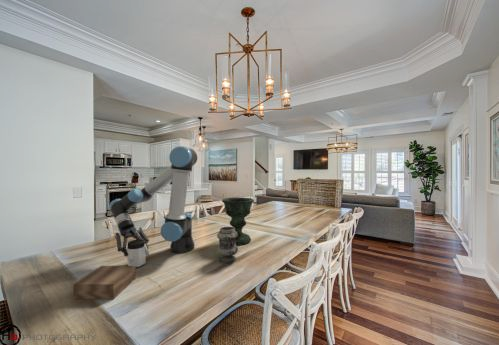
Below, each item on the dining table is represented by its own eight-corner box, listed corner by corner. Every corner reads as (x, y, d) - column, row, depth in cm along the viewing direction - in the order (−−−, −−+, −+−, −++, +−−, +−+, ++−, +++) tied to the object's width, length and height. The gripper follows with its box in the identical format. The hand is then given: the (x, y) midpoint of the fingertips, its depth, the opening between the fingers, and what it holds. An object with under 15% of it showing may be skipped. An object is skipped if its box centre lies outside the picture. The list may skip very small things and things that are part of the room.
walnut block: (135, 278, 101) (135, 265, 101) (113, 299, 85) (113, 284, 85) (101, 278, 101) (101, 265, 101) (73, 299, 85) (73, 284, 85)
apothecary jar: (224, 253, 131) (224, 224, 130) (241, 257, 125) (241, 226, 125) (212, 261, 120) (212, 229, 120) (231, 265, 115) (231, 232, 114)
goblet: (257, 245, 146) (257, 201, 145) (224, 248, 140) (224, 202, 140) (249, 235, 167) (249, 196, 166) (220, 237, 162) (220, 197, 161)
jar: (124, 268, 110) (124, 245, 110) (129, 261, 118) (129, 240, 118) (143, 266, 112) (143, 243, 112) (147, 260, 120) (147, 238, 120)
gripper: (140, 223, 132) (155, 254, 123) (101, 231, 115) (115, 269, 106) (145, 215, 129) (160, 247, 120) (105, 222, 112) (120, 261, 103)
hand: (139, 257), depth 113 cm, fingers closed on jar, 8 cm apart
